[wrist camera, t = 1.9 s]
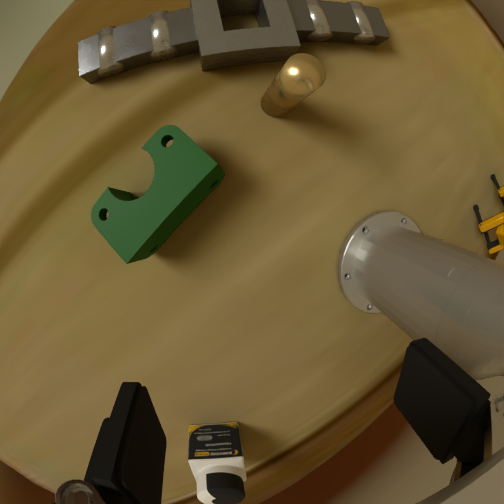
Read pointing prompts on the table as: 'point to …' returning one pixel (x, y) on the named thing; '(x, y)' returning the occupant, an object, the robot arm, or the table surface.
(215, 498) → the medicine bottle
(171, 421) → the table surface
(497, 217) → the robot dog
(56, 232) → the table surface
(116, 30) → the grey metal bar
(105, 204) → the clamp
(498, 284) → the robot arm
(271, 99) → the pin
